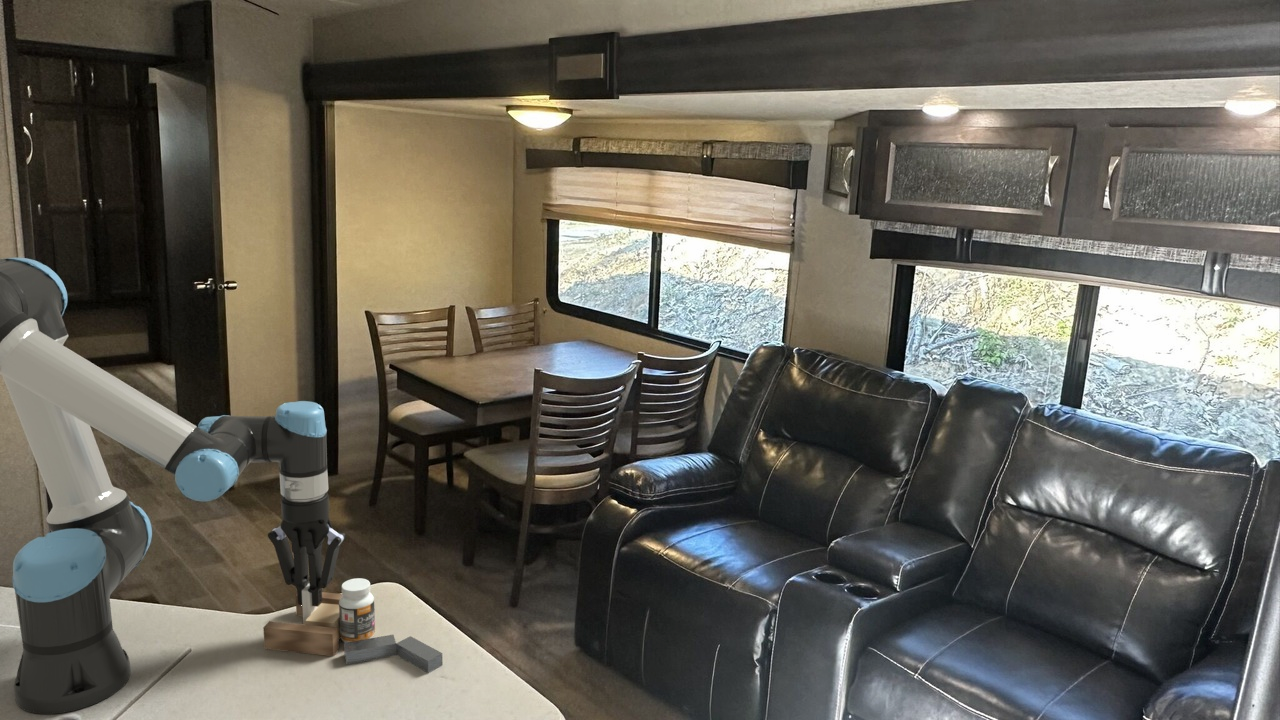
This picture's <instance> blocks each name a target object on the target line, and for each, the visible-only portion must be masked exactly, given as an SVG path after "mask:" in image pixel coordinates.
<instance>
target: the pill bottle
mask: <svg viewBox="0 0 1280 720" xmlns="http://www.w3.org/2000/svg"><path fill="white" fill-rule="evenodd" d="M341 594H343V595H342V596H341V598H340V600H339V616H340V635H341V638H340V639H341V641H342V642H343V643H347V642H352V641H358V640H364V639H370V638H375V637H374V636H375V633H376V621H375V617H376V616H375V615H376V614H375V597H374V595H373V594H372V592H371V582H370V581H369V580H368V579H366V578H359V577H357V578H351V579H348V580H346V581H344V582H343V583H342V584H341Z"/></svg>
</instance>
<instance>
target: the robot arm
mask: <svg viewBox="0 0 1280 720" xmlns="http://www.w3.org/2000/svg"><path fill="white" fill-rule="evenodd" d="M67 306H68V292H67V289H66V287H65V284H64V282H63V280H62V279H61V278H60V276H59V275H58V274H57V273H56V272H55V271H54V270H52V269H51V267H49V266H48V265H45V264H43V263H42V262H41V261H37V260H34V259H31V258H27V257H26V258H25V257H6V258H0V376H2V379H3V381H4V384H5V387H6V389H7V391H8V394H9V397H10V399H11V401H12V405H13V407H14V410H15V412H16V414H17V416H18V419H19V422H20V426H21V427H22V429H23V432H24V435H25V438H26V439H27V443H28V445H29V448H30V450H31V453H32V456H33V458H34V460H35V463H36V465H37V468H38V471H39V474H40V475H41V479H42V480H43V483H44V486H45V488H46V491H47V493H48V495H49V498H50V501H51V504H52V508H51V509H50V512H49V513H48V515H47V516H46V519H45V520H46V523H47V525H48V528H49V530H50V532H48V533H46V535H45V536H38V537H36V538H34V539H32V540H30V541H29V542H27V543H26V544H25V545H24V546H22V547H21V548H20V549H19V550H18V552H17V553H16V555H15V557H14V559H13V563H12V572H13V574H12V577H11V579H12V588H13V590H14V593H15V600H16V607H17V614H18V622H19V629H20V635H21V636H20V637H21V641H22V642H21V643H22V652H21V653H22V654H21V657H20V660H19V664H18V665H19V666H18V668H17V672H16V677H15V680H14V684H13V690H14V698H15V703H16V704H17V706H18V707H19V708H21V709H22V710H24V711H27V712H29V713H31V714H32V713H33V714H38V715H39V714H43V715H51V714H61V713H68V712H72V711H77V710H80V709H84V708H87V707H90V706H92V705H95V704H97V703H100V702H101V701H104V700H106V699H108V698H109V697H111V696H113V695H114V694H115V693H117V692H118V691H119V690H121V689H122V688H123V687H124V686H125V684H127V682H128V680H129V679H130V676H131V673H132V672H131V662H130V657H129V654H128V652H126V650H125V649H124V648H123V647H122V644H121V641H120V639H119V638H118V636H117V634H116V632H115V629H114V626H113V617H112V607H111V598H110V597H111V594H112V593H113V592H114V591H115V590H116V588H117V587H118V586H119V585H120V584H121V583H122V582H123V581H124V580H125V578H127V576H128V575H129V574H130V573H131V572H132V571H133V570H134V569H135V568H136V567H137V566H138V565H140V563H141V562H142V560H143V559H144V557H145V555H146V553H147V552H148V550H149V547H150V546H151V543H152V539H153V538H152V537H153V529H152V528H153V527H152V524H151V523H152V522H151V520H150V518H149V516H148V515H147V514H146V513H147V512H146V511H145V510H143V508H142V507H140V506H138V505H135V504H134V502H133V501H130V500H129V495H127V492H126V491H125V490H123V489H121V488H118V487H116V486H114V485H113V484H112V481H111V478H110V476H109V474H108V470H107V467H106V465H105V463H104V460H103V458H102V455H101V452H100V449H99V445H98V444H97V443H98V442H97V441H96V438H95V435H94V433H93V431H92V428H94V429H96V430H97V431H99V432H101V433H102V434H103V435H106V436H108V437H109V438H111V439H113V440H115V441H116V442H118V443H120V444H121V445H123V446H125V447H126V448H128V449H130V450H132V451H133V452H135V453H137V454H138V455H140V456H142V457H144V458H145V459H147V460H149V461H150V462H153V463H155V464H156V465H157V466H160V467H161V468H163V469H164V470H166V471H167V472H169V473H170V474H172V475H174V479H175V484H176V487H177V488H178V489H179V491H180V492H181V494H182V495H183V496H185V497H186V498H188V499H190V500H193V501H196V502H211V501H214V500H216V499H218V498H220V497H221V496H223V495H224V494H225V492H227V491H228V490H230V488H231V487H233V486H234V485H235V484H236V483H237V481H238V478H239V477H240V475H241V474H242V472H243V471H245V469H246V468H248V466H249V464H250V463H274V462H276V463H278V469H279V470H278V472H279V473H278V474H279V485H280V486H279V488H280V495H281V498H280V508H281V510H280V511H281V517H282V520H281V522H280V525H279V526H275V527H274V528H273V529H272V530H270V531H269V532H268V533H267V538H268V539H269V540H270V542H271V543H272V545H273V546H274V550H275V553H276V556H277V559H278V563H279V566H280V570H281V572H282V577H283V579H284V583H285V584H286V585H287V586H290V585H292V586H294V587H295V588H296V592H297V593H296V594H297V599H298V604H299V605H302V608H303V616H302V623H303V624H302V625H306V622H305V621H306V619H307V618H308V617H309V616H310V615H311V614H312V613H313V612H314V611H315V610H316V609H317V608H318V606H319V604H320V603H321V602H322V592H323V589H325V588H327V587H328V586H329V584H330V583H331V582H332V581H333V579H334V574H335V571H336V566H337V560H338V557H339V554H340V553H339V551H340V548H341V544H342V543H343V542H344V541H345V539H346V533H345V532H337V531H336V530H334V529H333V524H332V522H331V521H330V497H329V493H328V491H329V476H328V474H329V473H328V456H327V455H328V453H327V452H328V451H327V450H328V448H327V445H328V444H327V431H328V430H327V427H326V420H325V411H324V408H323V407H322V406H321V404H320V403H319V404H318V403H317V402H314V401H307V400H299V401H294V402H293V401H289V402H284V403H283V404H280V405H279V406H277V408H276V410H275V415H271V416H270V415H269V416H268V415H267V416H265V415H263V416H260V415H259V416H258V415H257V416H255V415H246V416H245V415H227V414H226V415H225V414H223V415H219V416H218V415H217V416H206V417H204V418H202V419H201V420H200V422H199V423H198V425H196V424H193V423H191V422H190V421H188V420H187V419H185V418H184V417H182V416H180V415H179V414H177V413H175V412H173V411H172V410H171V409H169V408H167V407H165V406H164V405H162V404H161V403H159V402H158V401H156V400H154V399H152V398H151V397H149V396H147V395H146V394H144V393H142V392H141V391H139V390H138V389H135V388H134V387H132V386H131V385H129V384H128V383H126V382H124V381H122V380H121V379H119V378H118V377H117V376H115V375H113V374H111V373H109V372H108V371H106V370H104V369H102V368H101V367H99V366H97V365H96V364H95V363H92V362H91V361H90V360H88V359H86V358H84V357H83V356H81V355H80V354H78V353H76V352H75V351H73V350H71V348H70V349H69V348H68V347H67V346H64V344H65V342H66V341H67V340H68V338H69V333H68V329H67V328H66V325H65V322H64V319H63V316H64V313H65V311H66V308H67ZM91 427H92V428H91ZM326 537H327V538H328V539H327V544H328V547H327V549H326V552H325V557H324V563H323V558H322V557H323V555H322V548H323V542H324V541H325V539H326ZM289 541H290V542H291V545H290V542H289Z"/></svg>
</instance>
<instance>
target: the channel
mask: <svg viewBox="0 0 1280 720" xmlns="http://www.w3.org/2000/svg"><path fill="white" fill-rule="evenodd" d="M342 595H343V594H342V593H334V592H327V591H326V592H324V591H322V602H321V603H325V604H336V605H339V600H340V598H341V596H342ZM321 603H320V604H321ZM320 604H319V605H320ZM295 608H296V609H295V613H296V616H297V617H303V608H302V606H301V605H299V604H298V599H297V593H296V594H295ZM262 628H263V639H264V640H263V642H264V649H265V650H272V651H273V650H274V651H282V652H292V653H299V654H300V653H301V654H311V655H319V656H328V657H334V656H335V655H336V654H337V653H338V651H339V640H338V628H331V627H322V626H312V625H303V624H302V623H301V624H300V623H291V622H290V623H289V622H279V621H270V620H269V621H267V623H266V624H265V625H264V626H263V627H262Z"/></svg>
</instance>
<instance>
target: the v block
mask: <svg viewBox="0 0 1280 720" xmlns="http://www.w3.org/2000/svg"><path fill="white" fill-rule="evenodd" d="M343 650H344V653H343V654H344V659H345V660H344V661H345V664H346V665H350V664H351V665H352V664H357V663H360V662H368V661H373V660H377V659H384V658H389V657H390V658H391V657H394V656H395V657H399V658H401V659H402V660H404V661H406V662H407V663H409V664H411V665H413V666H414V667H417V668H418V669H420V670H422V671H424V672H426V673H427V674H429V673H431V672H432V671H435V670H436V669H438V668H440V667H442V666H443V662H444V661H443V652H441V651H439V650H437V649H436V648H434V647H431V646H430V645H428V644H427V643H424V642H422V641H420V640H419V639H416V638H415V637H413V636H411V635H410V636H408V637H406V638H404V639H402V640H400V641H398V642H397V641H396V639H395V635H394V634H388V635H383V636H377V637H373V638H370V639H364V640H358V641H352V642H347V643H345V642H343Z"/></svg>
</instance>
